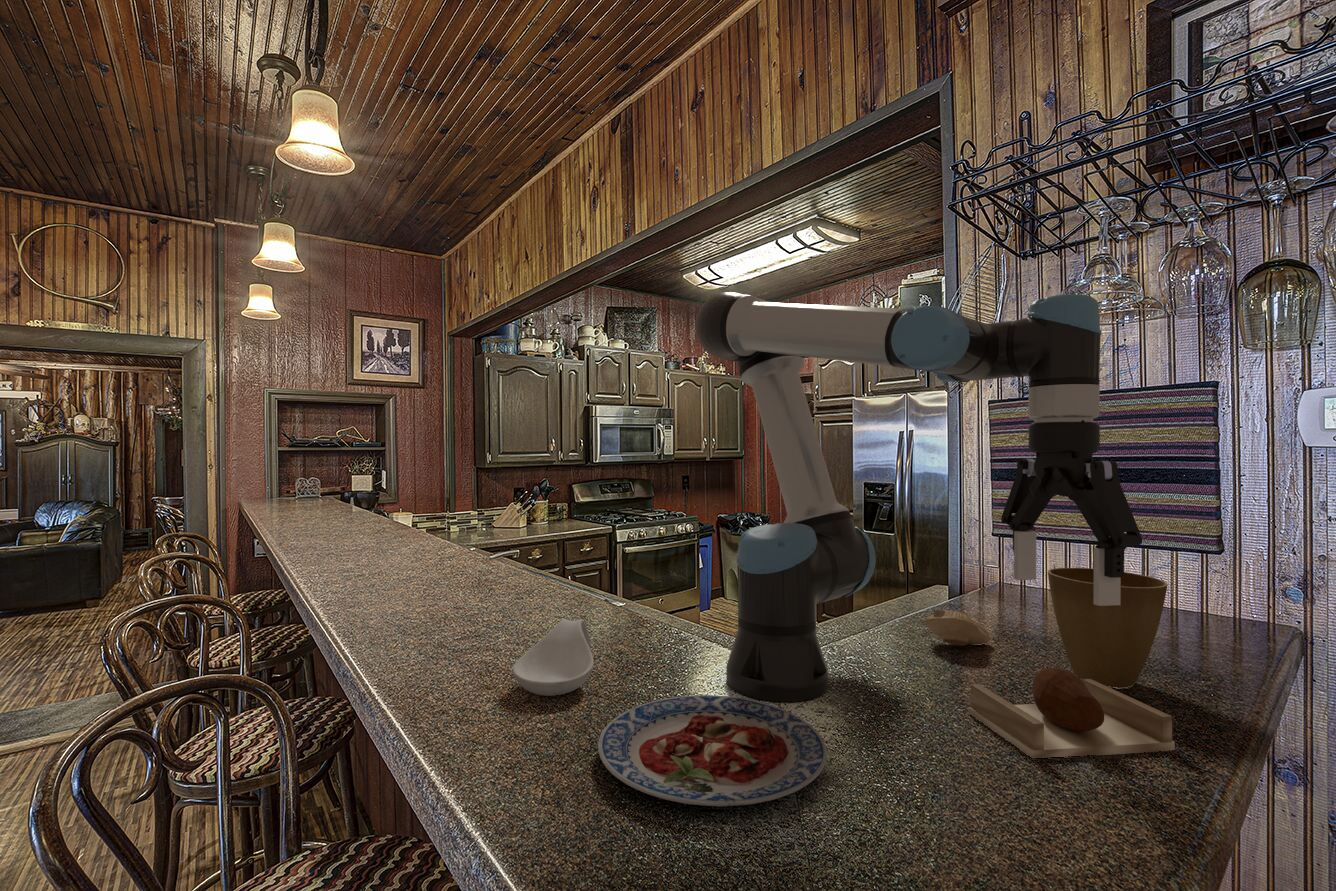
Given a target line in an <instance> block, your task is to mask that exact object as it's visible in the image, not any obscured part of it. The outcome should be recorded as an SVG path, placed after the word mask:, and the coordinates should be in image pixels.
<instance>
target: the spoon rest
mask: <svg viewBox="0 0 1336 891" xmlns="http://www.w3.org/2000/svg"><path fill="white" fill-rule="evenodd" d="M591 642H592V641H591V638H590V633H589V630H588V627H587V625H586V623H585V621H584V620H583V619H577V620H569V619H567V618H563V619H561V620H559V622H557V623H556V625H554V626H553V628H552V629H551V630H550V631H549V632H547V633H546V634H545V635H544V636H543V637H542V638H541V639H539V640H538V641H537V643H535V644H534V645H533V646H531V647H530V648H529V649H527V651H526V652H524V653H523V654H522V655H521V656H520V657H519V658H517V660H516V661H515V663H514V664H513V666H512V668H511V669H512V670H511V671H512V675H513V677H514V678H515V681H516V682H517V683H518V684H519V685H520V687H522V688H523V689H525V690H526V691H527V692H530V693H532V694H534V695H537V696H545V697H557V696H556V695H558V696H562V694H563V695H566V693H567V694H569V693H571V692H573V691H575V690H577V689H579V688H580V687H581V686H582V685H583V684H584V683H585V682H586V681H587V679H588V678H589V677H590V676H591V674H592V671H593V669H594V663H595V662H594V656H593V652H592V651H591V650H592V643H591Z"/></svg>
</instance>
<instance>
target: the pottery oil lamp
mask: <svg viewBox="0 0 1336 891" xmlns="http://www.w3.org/2000/svg"><path fill="white" fill-rule="evenodd" d="M924 625H925V626H926V627H927V629H928V630H929V631H931V633H932V634H934V635H935V636H936V637H938V638H939V639H941V641H942V642H943V643H947V644H950V645H954V646H961V647H962V646H963V647H965V646H967V644H969V645H971V644H982V643H986V644H988V643H989V642H990V641H991V640H992V639H991V637H990V633H989V632H988V631H987V629H985V628H983V627H982V626H980V625H978V624H977V623H975V621H974V619H972V618H971V616H969V615H968V614H967V613H965V612H964V611H960V610H954V609H953V610H951V609H947V610H943V609H938V610H933V613H932V614H930V615H929V616H928V617H927V618H925V620H924ZM987 642H988V643H987ZM969 645H968V646H969ZM971 646H972V645H971Z"/></svg>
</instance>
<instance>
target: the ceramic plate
mask: <svg viewBox="0 0 1336 891" xmlns="http://www.w3.org/2000/svg"><path fill="white" fill-rule="evenodd" d="M597 744H598V745H597V746H598V749H597V750H598V754H599V759H600V760H601V762H602V764H603V765H604V766H605V769H606V770H608V771H609V772H610V774H612V775H613V776H614V777H615V778H617V779H618V780H620V781H621V782H623V783H624V784H625V785H627V786H629V787H631V788H633V789H635V790H637V791H640V792H642V793H644V794H647V795H650V796H652V797H656V798H659V799H662V800H666V801H672V802H676V803H680V804H686V805H697V806H707V807H708V806H709V807H730V806H731V807H732V806H733V807H734V806H744V805H746V806H747V805H754V804H755V805H756V804H759V803H765V802H769V801H773V800H777V799H781V798H783V797H786V796H788V795H790V794H793V793H796V792H798V791H800V790H801V789H803V788H805V787H806V786H808V785H810V784H811V783H812V782H813V781H815V779H817V777H818V776H819V775H820V774H821V773H822V771H823V770H824V769H825V768H824V767H825V766H826V762H827V757H828V752H827V745H826V743H825V741H824V739H823V737H822V736H821V734H820V733H819V732H818V730H816V729H815V728H814V727H813V725H811V723H808V722H807V721H805V720H803V719H802V718H801V717H800V716H797V715H796V714H794V713H792V712H790V711H787V710H785V709H783V708H780V707H778V706H775V705H772V704H768V703H766V702H763V701H758V700H753V699H749V698H744V697H735V696H728V695H711V694H709V695H708V694H707V695H706V694H699V695H698V694H697V695H683V696H673V697H668V698H667V697H666V698H662V699H657V700H653V701H649V702H647V703H643V704H639V705H637V706H635V707H632V708H631V709H628V710H626V711H624V712H622V713H620V714H619V715H617V716H616V717H614V719H612V720H610V721H609V723H608V724H606V726H605V727H603V729H602V731H601V733H600V736H599V738H598V743H597Z"/></svg>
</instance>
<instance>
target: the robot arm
mask: <svg viewBox="0 0 1336 891" xmlns="http://www.w3.org/2000/svg"><path fill="white" fill-rule="evenodd" d="M1028 308H1029V309H1028V310H1029V311H1028V312H1027V317H1025V318H1020V319H1015V320H1009V321H999V322H990V323H989V322H988V323H984V322H983V321H978V320H977V319H972V318H970V317H967V316H965V315H962V314H960V313H958V312H955V311H954V310H951V309H949V308H947V307H944V306H935V305H920V306H917V307H914V308H900V307H898V308H897V307H896V308H895V307H878V306H877V307H875V306H874V307H873V306H855V305H854V306H853V305H852V306H851V305H830V304H829V305H828V304H807V303H785V302H778V301H770V300H768V301H767V300H764V299H761V298H758V297H757V296H755V295H752V294H743V293H740V292H732V291H729V292H728V291H726V292H724V291H723V292H720V293H717V294H715V295H713V296H711V297H710V298H708V299H706V301H705V302H704V303H703V304H702V305H701V307H700V308H699V311H698V312H697V315H696V318H695V324H694V325H695V334H696V337H697V340H698V342H699V344H700V345H701V347H702V348H703V350H705V351H706V352H707V353H708V354H710V355H711V356H713V357H715V358H717V359H721V360H723V361H724V360H725V361H730V362H735V363H736V364H737V369H738V373H739V376H740V379H741V381H742V383H744V384H745V385H747V386H750V387H751V388H752V391H753V394H754V398H755V402H756V406H757V409H758V412H759V416H760V421H761V425H762V427H763V431H764V432H763V433H764V435H765V438H766V442H767V447H768V449H769V454H770V456H771V460H772V463H773V468H774V471H775V475H776V479H777V482H778V486H779V489H780V492H781V496H782V500H783V503H784V507H785V511H786V517H785V519H784V521H783V522H781V523H780V522H779V523H777V522H776V523H774V524H770V523H769V524H762V525H757V526H754V527H751V528H749V529H747V530H746V531H744V532H743V533H742V534H741V536H740V537H739V540H738V548H737V555H736V564H737V565H736V566H737V631H736V635H735V638H734V641H733V645H732V648H731V649H730V653H729V657H728V660H727V663H726V683H727V685H728V686H729V687H730V688H731V689H732V690H733V691H736V692H737V693H738V694H739V693H740V694H741V695H744V696H747V697H751V698H753V699H758V700H763V701H768V702H769V701H771V702H786V703H787V702H791V703H792V702H800V701H802V702H803V701H808V700H812V699H815V698H817V697H820V696H822V695H824V694H825V693H826V692H827V691H828V689H829V671H828V667H827V664H826V660H825V657H824V654H823V651H822V649H821V645H820V642H819V639H818V636H817V605H818V604H822V603H824V602H825V603H826V602H829V601H831V600H836V599H841V598H847V597H848V596H849V597H850V596H851V595H852V594H854V593H856V592H858V591H860V590H861V589H863V588H864V587H865V586H866V585H867V584H868V583H869V582H870V580H871V578H872V576H873V574H874V572H875V568H876V567H875V566H876V551H875V547H874V544H873V542H872V540H871V539H870V537H869V536H868V534H867V533H866V532H865V531H862V530H861V529H860V528H859V527H858V526H856V525H854V522H853V518H852V515H851V511H850V510H849V508H847V507H846V506H844V505H842V504H841V503H839V502H838V500H837V498H836V495H835V490H834V488H833V484H832V480H831V477H830V473H829V470H828V467H827V464H826V461H825V460H826V459H825V456H824V454H823V451H822V447H821V444H820V440H819V436H818V433H817V430H816V427H815V422H814V420H813V416H812V413H811V410H810V406H809V403H808V399H807V396H806V392H805V390H804V386H803V382H802V379H801V376H800V372H801V370H802V369H803V366H804V365H805V358H814V359H823V360H832V361H839V362H840V361H841V362H847V363H848V362H850V363H857V364H865V365H866V364H868V365H876V366H882V367H883V366H885V367H894V368H898V369H899V368H900V369H907V370H914V371H915V370H916V371H924V372H932V373H933V374H935V375H936V378H937V379H939V380H940V381H941V382H946V383H949V382H953V383H954V382H956V383H957V382H958V383H959V382H961V383H963V384H964V383H970V382H973V381H983V380H996V379H1006V378H1025V377H1028V401H1027V402H1028V403H1027V404H1028V410H1027V413H1028V414H1027V418H1028V419H1030V420H1033V423H1030V425H1029V426H1028V450H1029V451H1030V452H1031V453H1035V455H1036V456H1035V458H1019V459H1018V460H1017V463H1016V464H1017V465H1016V475H1015V477H1014V479H1013V480H1014V481H1013V482H1012V486H1011V489H1010V491H1009V495H1008V497H1007V500H1006V503H1005V506H1004V508H1003V511H1002V514H1001V518H1000V520H1001V523H1002V524H1004V525H1005V524H1006V525H1007V526H1009V528H1010V530H1011V531H1012V552H1013V579H1014V580H1017V581H1029V580H1030V581H1035V580H1036V581H1037V531H1036V529H1037V528H1036V527H1035V524H1036V522H1037V521H1038V519H1039V518H1040V516H1041V515H1042V513H1044V512H1043V511H1044V510H1045V509H1046V508H1047V506H1048V504H1049V503H1050V502H1051V500H1052V498H1054V497H1056V496H1059V497H1068V499H1069V500H1070V501H1072V502H1074V503H1075V505H1076V507H1077V509H1078V510H1079V512H1080V514H1081V515H1082V517H1083V519H1084V520H1085V522H1086V523H1087V525H1088V527H1089V528H1090V530H1091V532H1092V533H1093V535H1094V537H1095V538H1096V540H1097V541H1098V542H1097V544H1096V545H1095V546H1094V547H1093V569H1094V604H1095V605H1098V606H1110V605H1120V594H1121V577H1123V575H1124V572H1125V552H1126V551H1125V550H1126V549H1127V548H1128V547H1132V546H1140V545H1142V543H1143V537H1142V534H1141V532H1140V530H1139V527H1138V525H1137V522H1136V520H1135V517H1134V515H1133V513H1132V510H1131V507H1130V505H1129V502H1128V500H1127V498H1126V494H1125V492H1124V490H1123V488H1122V484H1121V483H1120V480H1119V479H1120V478H1119V469H1118V466H1119V465H1118V463H1117V462H1116V461H1115V460H1094V458H1093V455H1094V454H1095V453H1097V452H1099V451H1100V449H1101V448H1100V447H1101V446H1100V444H1101V442H1100V440H1101V438H1100V437H1101V436H1100V435H1101V432H1100V431H1101V428H1100V427H1101V426H1100V425H1099V423H1098V422H1094V419H1097V418H1099V416H1100V402H1101V401H1100V397H1101V396H1100V393H1101V392H1100V390H1101V389H1100V384H1101V383H1100V382H1101V380H1100V368H1101V366H1100V364H1101V361H1100V360H1101V338H1102V330H1101V323H1100V322H1101V321H1100V307H1099V302H1098V300H1097V299H1096V298H1095V297H1092V296H1091V295H1089V294H1082V293H1067V294H1057V295H1050V296H1046V297H1044V298H1039V299H1036V300H1035V301H1033V302H1031V304H1030V305H1029V307H1028ZM804 357H805V358H804Z"/></svg>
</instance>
